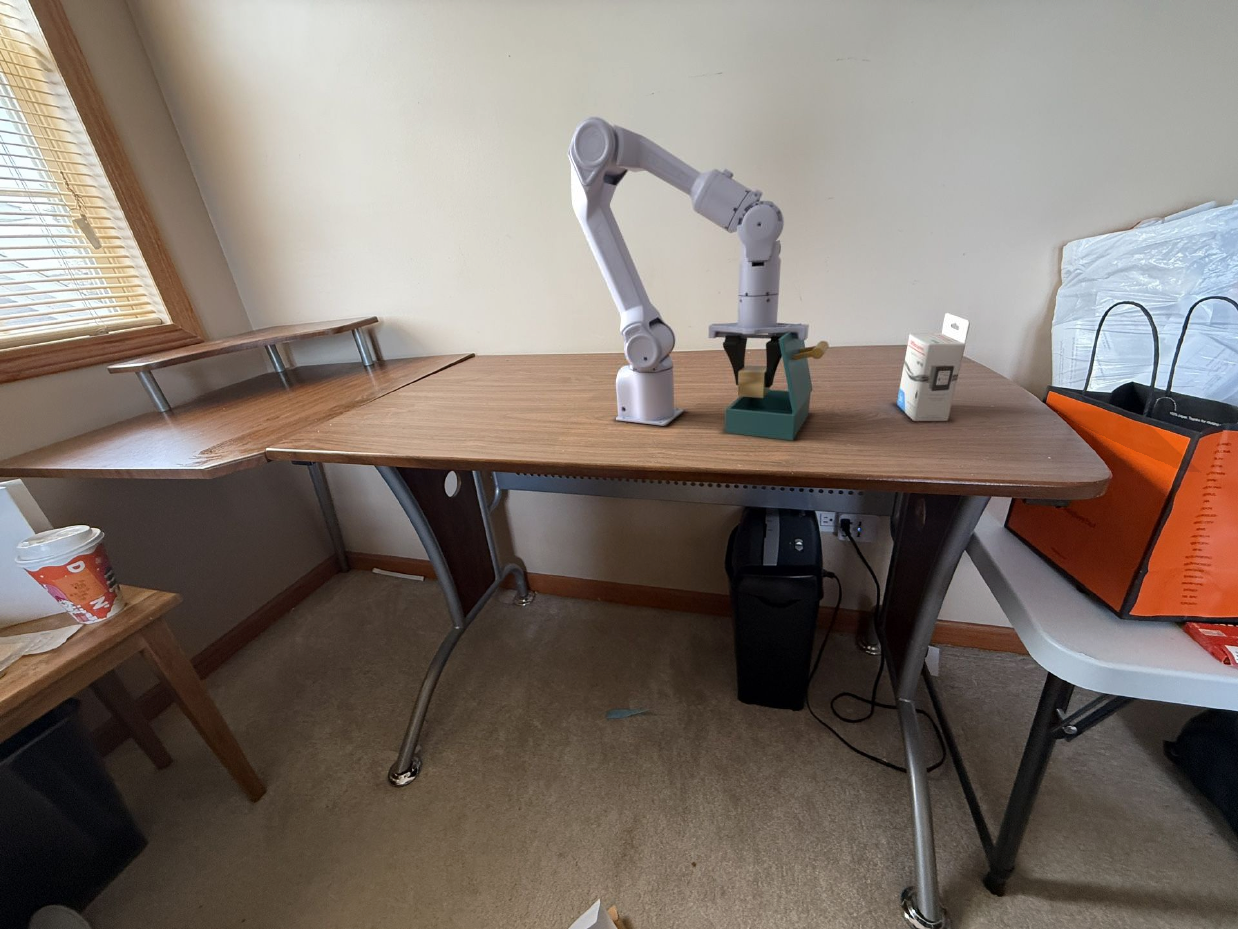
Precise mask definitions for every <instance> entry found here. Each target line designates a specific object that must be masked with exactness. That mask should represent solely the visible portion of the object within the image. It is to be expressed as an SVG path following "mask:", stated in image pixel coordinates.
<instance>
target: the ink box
mask: <svg viewBox="0 0 1238 929" xmlns="http://www.w3.org/2000/svg"><path fill="white" fill-rule="evenodd" d="M970 324H971V322H970V320H969V319H966V318H963V317H960V316H957V315H955V314H951V313H949V312H946V313H945V314H944V319H943V324H942V330H941V332H939V333H938V332H937V333H935V332H934V333H910V334H909V336H908V341H907V346H906V351H905V356H904V362H903V368H902V374H901V379H900V385H899V389H898V396H897V402H896V405H897V406H898V407H899V408H900V409H901V410H902V411H903V412H904V413H905V414H906V415H907V416H908V417H909V418H910V419H911V420H912V421H914V422H948V420H949V418H950V413H951V409H952V404H953V400H954V395H955V390H956V387H957V383H958V380H959V379H958V378H959V374H960V369H961V366H962V361H963V357H964V354H965V348H966V342H967V338H968V334H969V331H970V330H969V329H970ZM953 325H956V326H957V327H958V329H956V328H954V327H953Z"/></svg>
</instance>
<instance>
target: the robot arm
mask: <svg viewBox="0 0 1238 929" xmlns="http://www.w3.org/2000/svg"><path fill="white" fill-rule="evenodd" d="M567 157H568V159H569V163H570V166H571V205H572V208H573V211H574V213H575V216H576V218H577V220H578V222H579V225H580V227H581V230H582V232H583V234H584V236H585V239H586V240H587V243H588V246H589V247H590V249H591V252H592V254H593V257H594V259H595V261H596V263H597V265H598V268H599V270H600V273H601V275H602V277H603V280H604V281H605V284H606V285H607V286H606V287H607V288H608V291H609V293H610V295H611V297H612V300H613V301H614V304H615V307H616V308H617V311H618V313H619V316H620V330H619V331H620V334H621V337H622V339H623V345H624V346H623V352H624V353H623V354H624V357H625V359H626V361H627V363H628V364H629V365H623V366H622V367H621V368H620V369H619V370H618V372H617V374H616V380H615V388H616V389H615V391H616V404H617V416H616V417H615V418H616V419H615V420H616V421H618V422H619V421H620V422H629V423H636V424H645V425H653V426H661V427H664V426H665V427H666V426H667V425H668V424H669V423H671V422H672V421H673V420H674V419H676V418H677V417H678V416H680V415H681V414H682V413H684V409H683V408H677V407H675V388H674V386H675V383H674V362H673V360H672V358H671V355H670V354H672V352H673V351H674V349H675V346H676V335H675V332H674V331H673V329H672V328H671V326H670V325H669V324H667V323H666V322H665V320H664V319H663V318H662V315H661V313H660V311H659V310H658V309H657V308H656V307H655V306H654V305H653V304H652V302H651V300H650V298H649V295H648V294H647V291H646V289H645V286H644V284H643V282H642V279H641V277H640V275H639V272H638V270H637V267H636V265H635V262H634V260H633V257H632V255H631V254H630V251H629V249H628V246H627V244H626V241H625V239H624V236H623V233H622V232H621V230H620V227H619V225H618V221H617V220H616V217H615V215H614V213H613V211H612V208H611V202H612V200H613V197H614V194H615V192H616V189H617V187H618V186H619V184H620V183H621V181H622V180H623V179H624V177H625V176H626V175H627V174H628V173H629V171H630V172H632V173H639V172H645V171H646V172H648V173H649V174H650V175H651V174H652V176H655V177H656V178H658V179H660V180H661V181H664V182H665V183H667V184H669V185H670V186H672V187H674V188H676V189H677V190H679V191H681V192H683V193H684V194H686V195H688V196H689V197H690V200H691V204H692V209H693V211H694V213H697V214H698V215H700V216H702V217H703V218H705V219H706V220H708V221H710V222H711V223H713V224H715V225H716V226H718V227H720V228H722V229H723V230H725V231H726V232H728V233H729V234H733V233H737V236H738V239H739V240H740V242H741V243H740V245H741V246H740V261H739V263H738V291H737V292H738V293H737V294H738V296H737V322H728V323H727V322H726V323H711V324H709V325H708V339H716V338H724V341H722V348H723V350H724V351H725V353H726V355H727V358H728V360H729V362H730V365H731V368H732V371H733V375H734V380H735V385H736V386H738V372H739V371H740V370H741V369H742V368H743V367H745V366H746V365H745V361H746V350H747V344H748V343H747V342H748V339H770V340H768V341H767V342H766V343H765V354H766V355H765V356H766V357H765V358H766V359H765V360H766V366H767V367H766V376H765V387H767V388H770V389H771V388H772V386H773V385H774V380H775V376H776V373H777V369H778V367H779V364H780V362H781V359H782V354H781V348H780V343H779V339H780V338H781V337H782V336H784V335H785V334H786V333H788V332H791V333H793V337H794V339H798V340H804V341H806V340H807V339H808V338H809V328H810V327H809V326H810V324H803V323H788V322H778V313H779V312H778V309H779V296H780V295H779V294H780V280H781V265H782V260H781V257H780V255H781V253H782V244H781V240H780V239H779V238H780V236H781V235H782V233H783V230H784V227H785V226H784V225H785V218H784V217H785V216H784V214H783V212H782V210H781V208H780V207H779V206H778V205H777V204H775V203H774V202H773V201H770V200H761V198H762V196H763V194H764V193H763V192H762V191H761V190H759V189H757V188H756V189H755V190H754V191H753V190H752V189H750V188H749V187H747V186H745V185H744V184H742V183H740V182H738V181H737V180H735V179H733V177H734V173H733V172H732V171H731V170H729V169H727V168H723V170H722V171H721V170H719V169H718V168H713V169H711V170H709V171H705V172H700V171H699V170H697V169H695V168H694V167H693V166H691V165H689V164H688V163H687V162H685V161H683V160H682V159H680V158H679V157H678V156H676V155H674V154H672V153H671V152H670V151H668V150H667V149H665V148H663V147H662V146H660V145H659V144H657V143H655V142H654V141H653V140H651V139H649V138H647V137H646V136H644V135H641V133H638V132H635V131H632V130H630V129H627V128H624V127H622V126H621V125H620V126H619V125H616V124H613V125H612V124H610V123H609V122H608V121H606V120H605V119H604V118H602V117H599V116H590V117H587V118H584V119H582V121H580V122H579V124H578V125H577V126H576V129H575V130H574V132H573V136H572V139H571V142H570V144H569V147H568V150H567Z"/></svg>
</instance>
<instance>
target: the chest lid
mask: <svg viewBox="0 0 1238 929" xmlns="http://www.w3.org/2000/svg"><path fill="white" fill-rule="evenodd" d="M779 343H780V348H781V354H782V357H781V359H782V363H783V367H784V368H783V369H784V374H785V379H786V385H787V391H789V396H790V401H791V406H792V411H793V414H796V413H798V411H799V410H800V408H801V407H802V405H803V404H804V402H805V401H806V399H807V398H808V396H809V395H810V396H811V394H812V391H813V390H814V389H813V388H814V387H813V384H812V377H811V371H810V366H809V360H808V359H809V358H813V359H815V360H820V359H821V358H822V357H823V356H824V355H825V353H826V352H827V351H828V349H829V348H830V347H829V346H830V345H829V343H828V341H826V340H820V341H819V342H818V343H817V344H816V345H812V346H807V347H806V344H805V340H798V339H794V337H793V333H791V332H788V333H786V334H785V335H784V336H782V337H781V338H780V339H779ZM810 393H811V394H810Z"/></svg>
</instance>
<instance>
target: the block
mask: <svg viewBox="0 0 1238 929" xmlns="http://www.w3.org/2000/svg"><path fill="white" fill-rule="evenodd" d="M766 367H767V365H766V366H765V365H748V364H747V365H745V367H743V368H742V369H741V370H740V371H739V372H738V385H737V397H739V396H742V397H755V398H764V397H765V396H766V394H767V393H768V392H769V391H770V390H771V387H770V388H767V387H765V376H766Z"/></svg>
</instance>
